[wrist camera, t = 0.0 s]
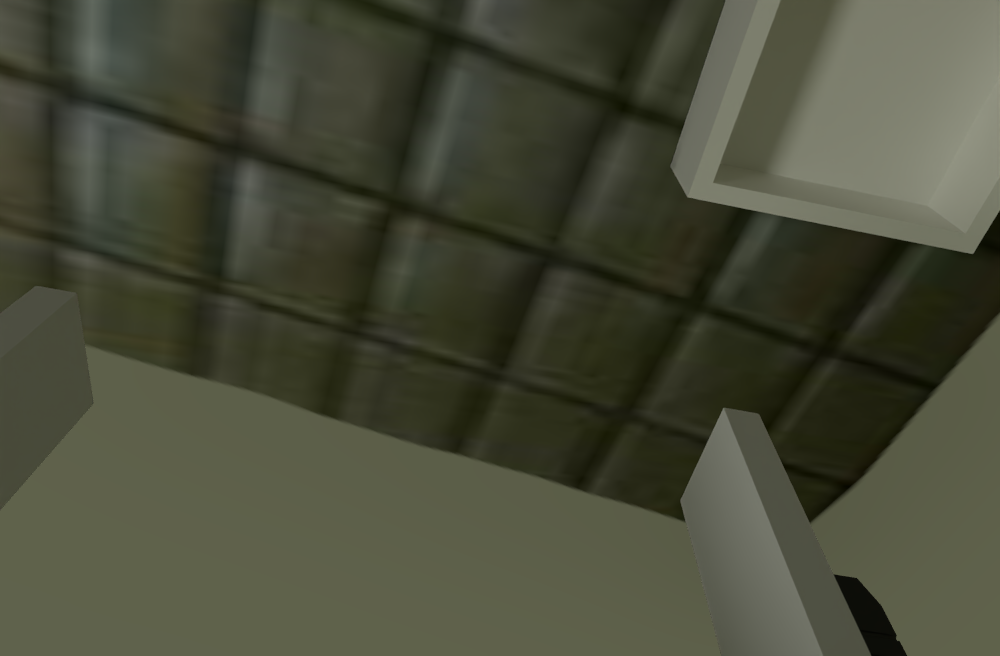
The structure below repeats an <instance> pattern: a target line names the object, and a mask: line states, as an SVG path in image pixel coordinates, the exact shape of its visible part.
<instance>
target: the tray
mask: <svg viewBox="0 0 1000 656" xmlns="http://www.w3.org/2000/svg"><path fill="white" fill-rule="evenodd" d="M670 167H671V169H672V170H673V172H674V174H675V176H676V177H677V179H678V181H679V183H680V185H681V186H682V188H683V190H684V192H685V193H686V195H687V197H689V198H694V199H699V200H704V201H709V202H714V203H719V204H724V205H729V206H734V207H739V208H744V209H749V210H754V211H759V212H764V213H769V214H774V215H779V216H784V217H790V218H795V219H800V220H805V221H810V222H815V223H820V224H825V225H830V226H835V227H840V228H845V229H850V230H855V231H860V232H865V233H870V234H875V235H880V236H885V237H890V238H895V239H900V240H905V241H910V242H915V243H920V244H925V245H930V246H935V247H940V248H945V249H950V250H955V251H960V252H965V253H970V254H973V253H974V251H975V250H976V248H977V246H978V245H979V243H980V242H981V240H982V238H983V237H984V235H985V233H986V232H987V230H988V229H989V227H990V225H991V224H992V222H993V220H994V219H995V217H996V216H997V214H998V212H999V211H1000V0H726V1H725V4H724V7H723V10H722V13H721V16H720V19H719V22H718V25H717V28H716V31H715V34H714V37H713V40H712V43H711V46H710V49H709V52H708V55H707V58H706V61H705V64H704V67H703V70H702V73H701V76H700V79H699V82H698V85H697V88H696V91H695V94H694V97H693V100H692V103H691V106H690V109H689V112H688V115H687V118H686V121H685V124H684V127H683V130H682V133H681V136H680V139H679V142H678V145H677V148H676V151H675V154H674V157H673V160H672V163H671V166H670Z"/></svg>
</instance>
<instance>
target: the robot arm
mask: <svg viewBox="0 0 1000 656" xmlns="http://www.w3.org/2000/svg"><path fill="white" fill-rule="evenodd" d="M92 404H93V397H92V390H91V383H90V376H89V370H88V364H87V357H86V351H85V344H84V337H83V330H82V324H81V317H80V311H79V304H78V297H77V293H74V292H68V291H62V290H57V289H51V288H45V287H40V286H35V287H34V288H33V289H31V290H30V291H29V292H27V293H26V294H25V295H24V296H22V297H21V298H20V299H18V300H17V301H16V302H14V303H13V304H12V305H11V306H9V307H8V308H7V309H5V310H4V311H3V312H1V313H0V510H1V509H2V508H3V507H4V505H5V504H6V503H7V502H8V501H9V500H10V498H11V497H12V496H13V495H14V494H15V493H16V492H17V490H18V489H19V488H20V487H21V486H22V485H23V484H24V482H25V481H26V480H27V479H28V478H29V477H30V475H31V474H32V473H33V472H34V471H35V470H36V469H37V467H38V466H39V465H40V464H41V463H42V462H43V461H44V460H45V458H46V457H47V456H48V455H49V454H50V453H51V452H52V450H53V449H54V448H55V447H56V446H57V445H58V443H59V442H60V441H61V440H62V439H63V438H64V437H65V436H66V434H67V433H68V432H69V431H70V430H71V429H72V428H73V426H74V425H75V424H76V423H77V422H78V421H79V419H80V418H81V417H82V416H83V415H84V414H85V413H86V411H87V410H88V409H89V408H90V407H91V406H92ZM680 501H681V505H682V509H683V513H684V516H685V520H686V524H687V528H688V531H689V535H690V539H691V543H692V547H693V550H694V554H695V558H696V562H697V565H698V569H699V573H700V577H701V581H702V584H703V588H704V592H705V595H706V600H707V603H708V607H709V611H710V615H711V618H712V622H713V626H714V630H715V634H716V637H717V641H718V645H719V649H720V653H721V656H907V655H906V653H905V651H904V649H903V647H902V645H901V643H900V641H897V640H896V633H895V631H894V630H893V628H892V625H891V624H890V622H889V620H888V618H887V616H886V614H885V612H884V610H883V608H882V606H881V605H880V604H879V603H878V601H877V600H876V599H875V598H874V597H873V596H872V595H871V594H870V592H869V591H868V590H867V589H866V588H865V587H864V586H863V584H862V583H861V582H860V581H859V580H858V579H857V578H852V577H846V576H839V575H834V574H833V572H832V570H831V568H830V566H829V564H828V562H827V560H826V558H825V555H824V553H823V551H822V549H821V547H820V544H819V542H818V540H817V538H816V536H815V534H814V532H813V529H812V527H811V525H810V523H809V521H808V519H807V517H806V514H805V512H804V510H803V508H802V506H801V504H800V502H799V499H798V497H797V495H796V493H795V491H794V489H793V487H792V484H791V482H790V480H789V478H788V476H787V474H786V471H785V469H784V467H783V465H782V463H781V461H780V459H779V456H778V454H777V452H776V450H775V448H774V446H773V444H772V441H771V439H770V437H769V435H768V433H767V431H766V429H765V426H764V424H763V422H762V420H761V418H760V416H759V414H756V413H751V412H745V411H739V410H734V409H728V408H723V410H722V412H721V415H720V417H719V419H718V421H717V423H716V425H715V427H714V430H713V432H712V434H711V436H710V438H709V440H708V442H707V445H706V447H705V449H704V451H703V453H702V455H701V457H700V460H699V462H698V464H697V466H696V468H695V470H694V472H693V475H692V477H691V479H690V481H689V483H688V485H687V487H686V490H685V492H684V494H683V496H682V498H681V500H680Z"/></svg>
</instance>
